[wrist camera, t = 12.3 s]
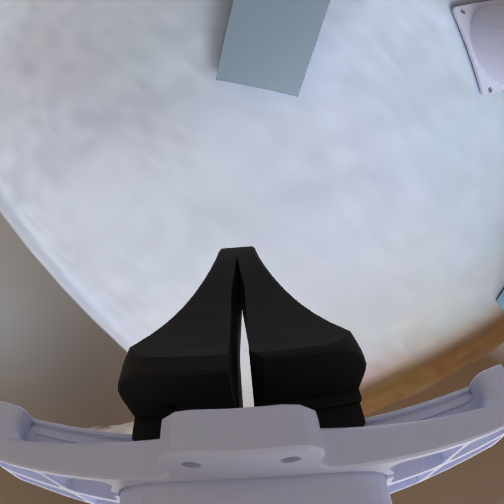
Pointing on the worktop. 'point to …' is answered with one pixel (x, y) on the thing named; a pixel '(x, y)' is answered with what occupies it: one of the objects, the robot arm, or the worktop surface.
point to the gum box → (501, 300)
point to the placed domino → (270, 43)
